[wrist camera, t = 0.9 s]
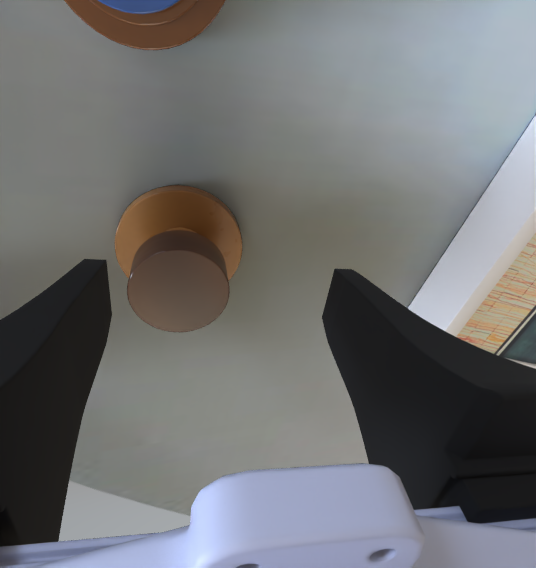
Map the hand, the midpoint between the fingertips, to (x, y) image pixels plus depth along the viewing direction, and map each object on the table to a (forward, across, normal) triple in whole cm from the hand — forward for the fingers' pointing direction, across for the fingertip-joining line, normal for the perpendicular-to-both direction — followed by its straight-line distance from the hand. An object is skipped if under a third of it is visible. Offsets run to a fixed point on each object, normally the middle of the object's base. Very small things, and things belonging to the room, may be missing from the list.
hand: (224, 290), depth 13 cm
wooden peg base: (+10, +2, +4) cm, 11 cm away
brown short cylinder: (+7, +2, +4) cm, 8 cm away
